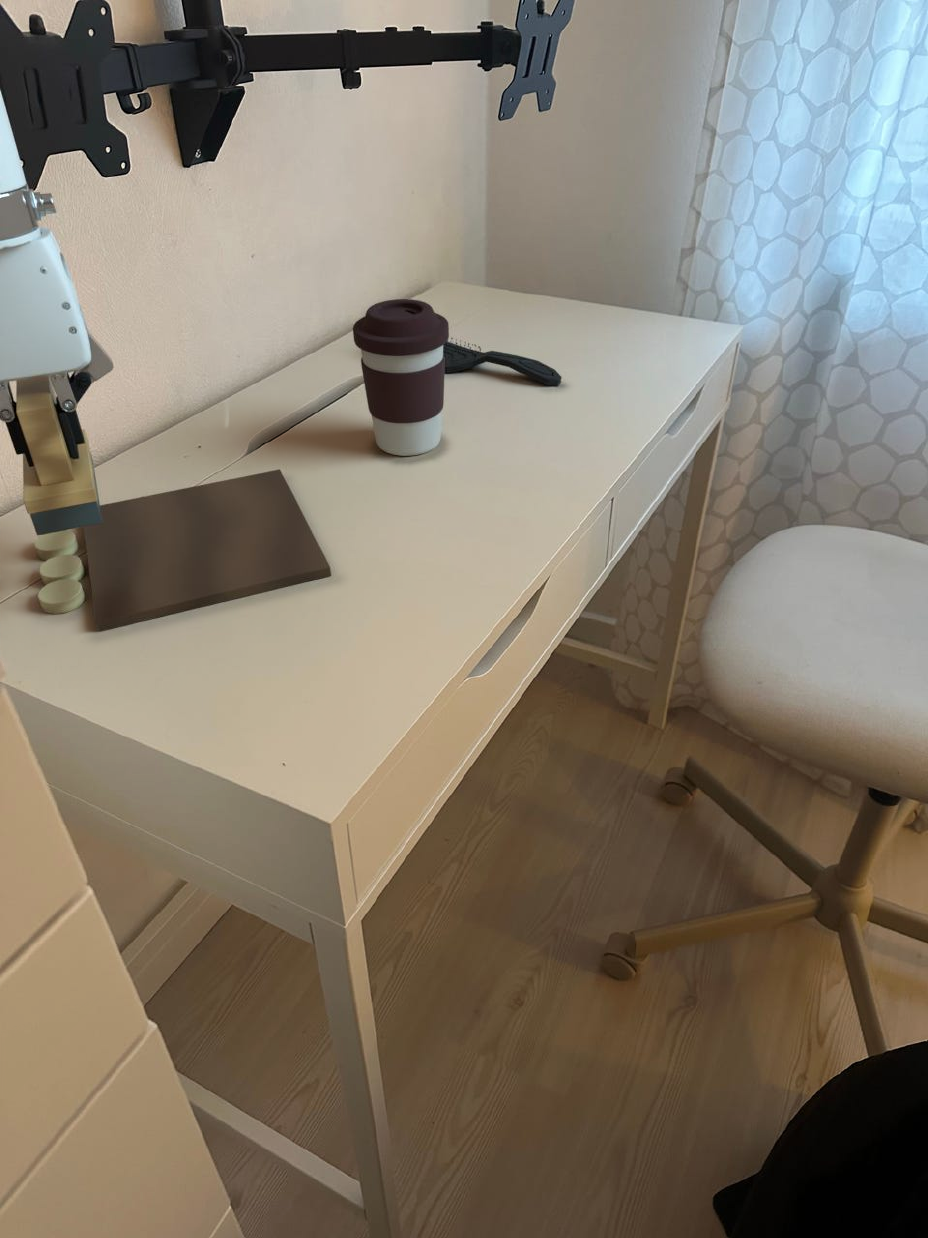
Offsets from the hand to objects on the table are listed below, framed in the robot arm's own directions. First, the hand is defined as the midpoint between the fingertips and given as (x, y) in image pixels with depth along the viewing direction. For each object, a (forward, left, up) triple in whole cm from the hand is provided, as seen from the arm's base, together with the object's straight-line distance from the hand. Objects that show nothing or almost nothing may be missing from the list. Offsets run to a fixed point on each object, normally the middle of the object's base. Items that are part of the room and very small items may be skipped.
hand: (53, 454), depth 74 cm
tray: (+10, +1, -12) cm, 15 cm away
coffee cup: (+35, +13, -12) cm, 39 cm away
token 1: (-3, +6, -12) cm, 14 cm away
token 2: (-3, +1, -12) cm, 12 cm away
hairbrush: (+50, +30, -12) cm, 59 cm away
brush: (0, 0, -4) cm, 4 cm away
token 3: (-3, -3, -12) cm, 13 cm away
